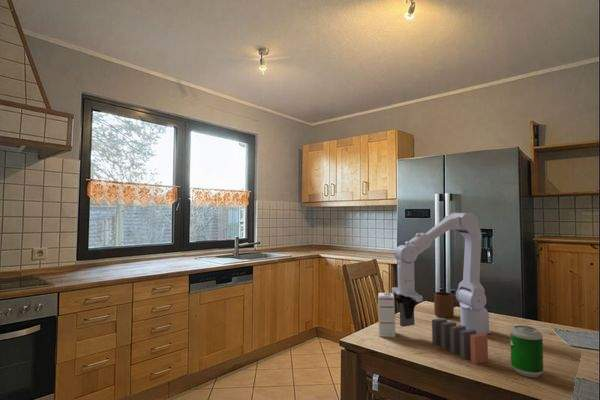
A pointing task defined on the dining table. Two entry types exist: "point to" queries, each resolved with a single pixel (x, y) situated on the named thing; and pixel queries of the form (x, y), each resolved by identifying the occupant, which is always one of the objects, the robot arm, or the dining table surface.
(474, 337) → the domino
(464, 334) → the domino
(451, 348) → the domino
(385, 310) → the syrup box
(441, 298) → the mug
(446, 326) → the domino
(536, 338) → the soda can
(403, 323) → the domino
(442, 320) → the domino
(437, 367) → the dining table surface
